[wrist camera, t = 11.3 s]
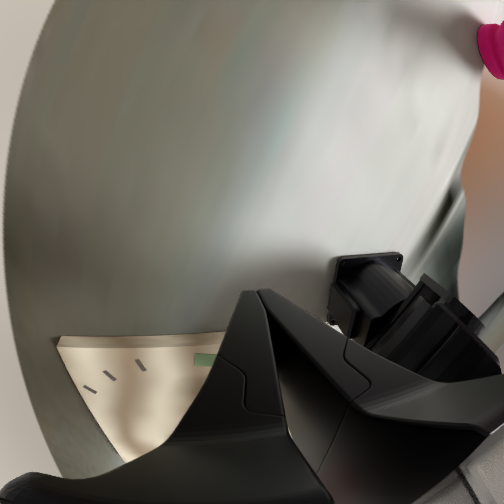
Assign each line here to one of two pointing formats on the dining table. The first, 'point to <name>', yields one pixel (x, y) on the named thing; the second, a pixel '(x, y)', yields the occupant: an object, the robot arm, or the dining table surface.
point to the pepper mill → (492, 48)
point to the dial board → (139, 383)
